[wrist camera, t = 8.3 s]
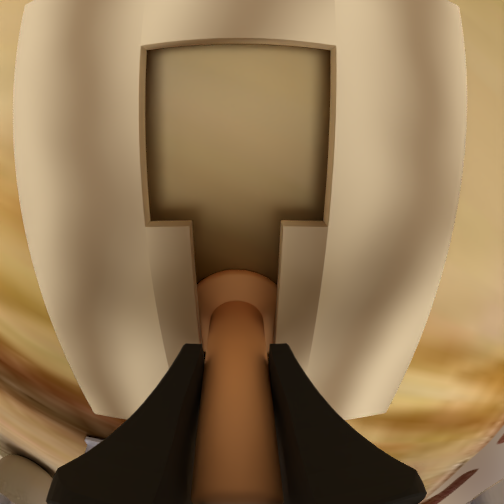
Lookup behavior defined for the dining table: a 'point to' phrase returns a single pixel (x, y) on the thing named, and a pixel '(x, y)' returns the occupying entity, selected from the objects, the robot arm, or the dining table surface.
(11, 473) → the grey bottle
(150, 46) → the keyhole board
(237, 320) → the keyhole peg
